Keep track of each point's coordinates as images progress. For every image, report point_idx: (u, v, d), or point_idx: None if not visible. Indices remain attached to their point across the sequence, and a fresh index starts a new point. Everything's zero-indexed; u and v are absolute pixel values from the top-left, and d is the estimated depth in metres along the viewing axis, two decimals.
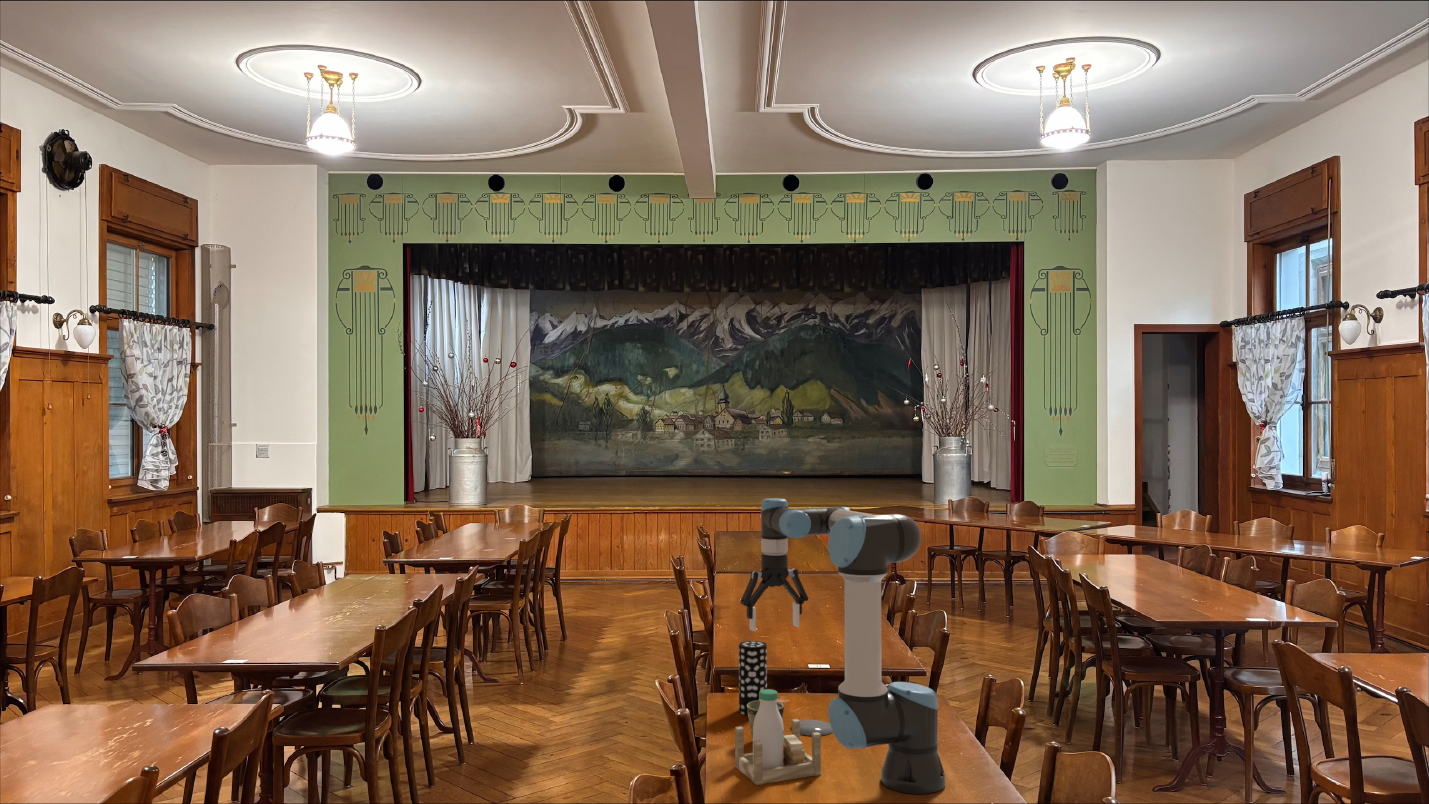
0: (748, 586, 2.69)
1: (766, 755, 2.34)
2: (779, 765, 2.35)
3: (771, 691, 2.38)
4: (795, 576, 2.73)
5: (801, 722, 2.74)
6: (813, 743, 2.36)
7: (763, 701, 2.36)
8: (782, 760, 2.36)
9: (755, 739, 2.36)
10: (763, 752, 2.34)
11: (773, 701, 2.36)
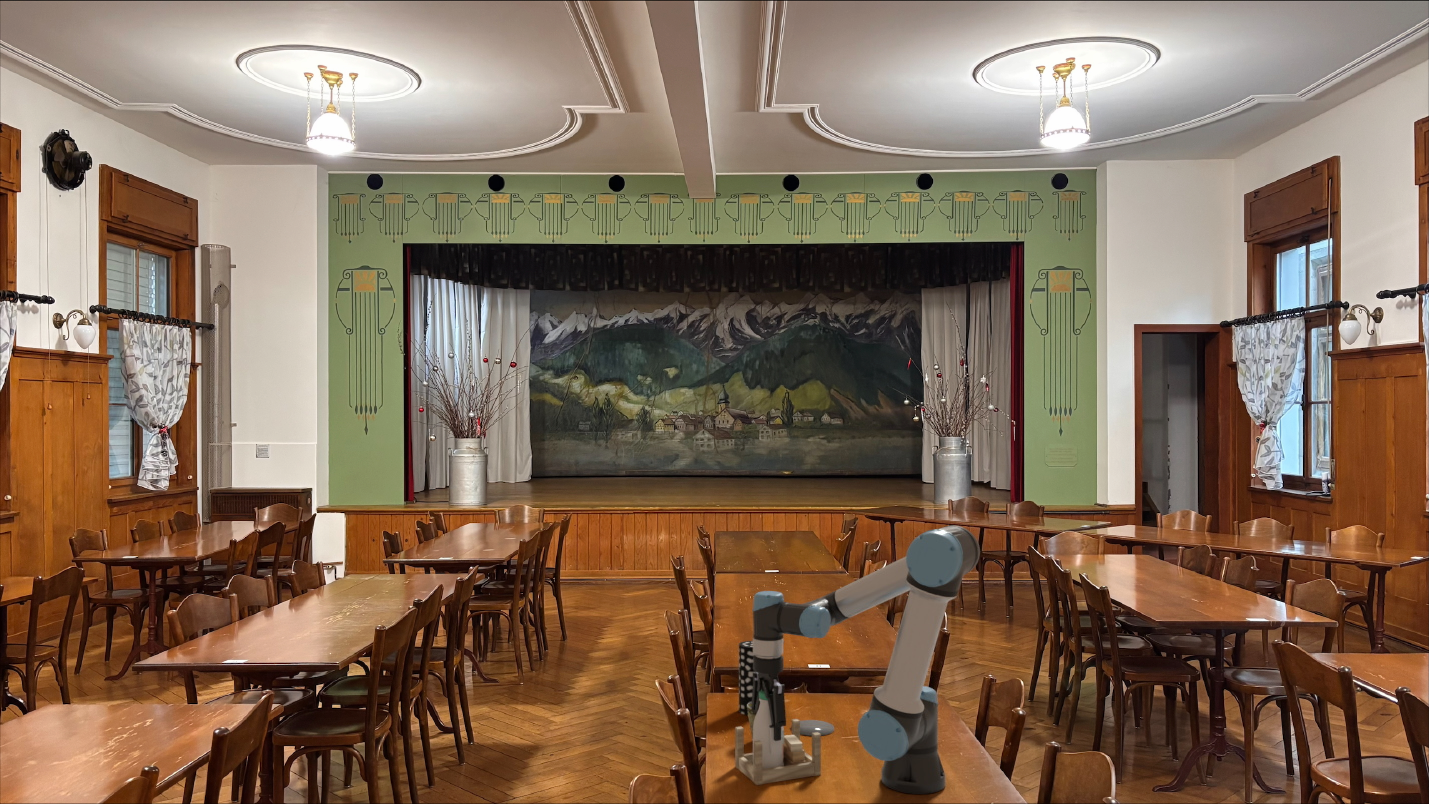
0: None
1: (766, 754, 2.34)
2: (779, 765, 2.35)
3: None
4: (773, 692, 2.32)
5: (801, 722, 2.74)
6: (813, 743, 2.36)
7: (763, 701, 2.36)
8: (782, 760, 2.36)
9: (755, 739, 2.36)
10: (763, 752, 2.34)
11: None
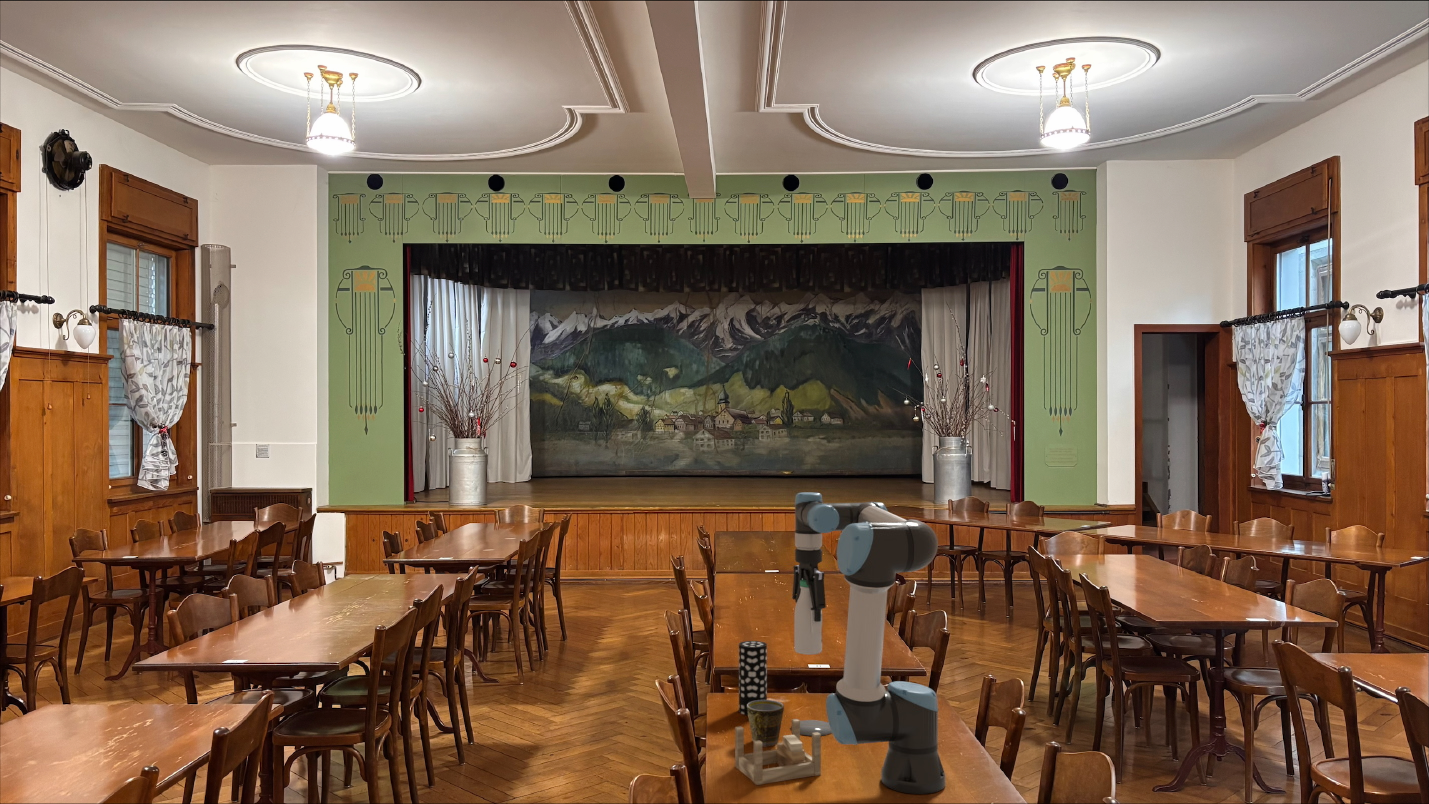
0: None
1: (807, 634, 2.64)
2: (818, 644, 2.65)
3: None
4: (814, 579, 2.63)
5: (801, 722, 2.74)
6: (813, 743, 2.36)
7: (803, 588, 2.66)
8: (821, 640, 2.66)
9: (797, 622, 2.66)
10: (804, 632, 2.64)
11: None
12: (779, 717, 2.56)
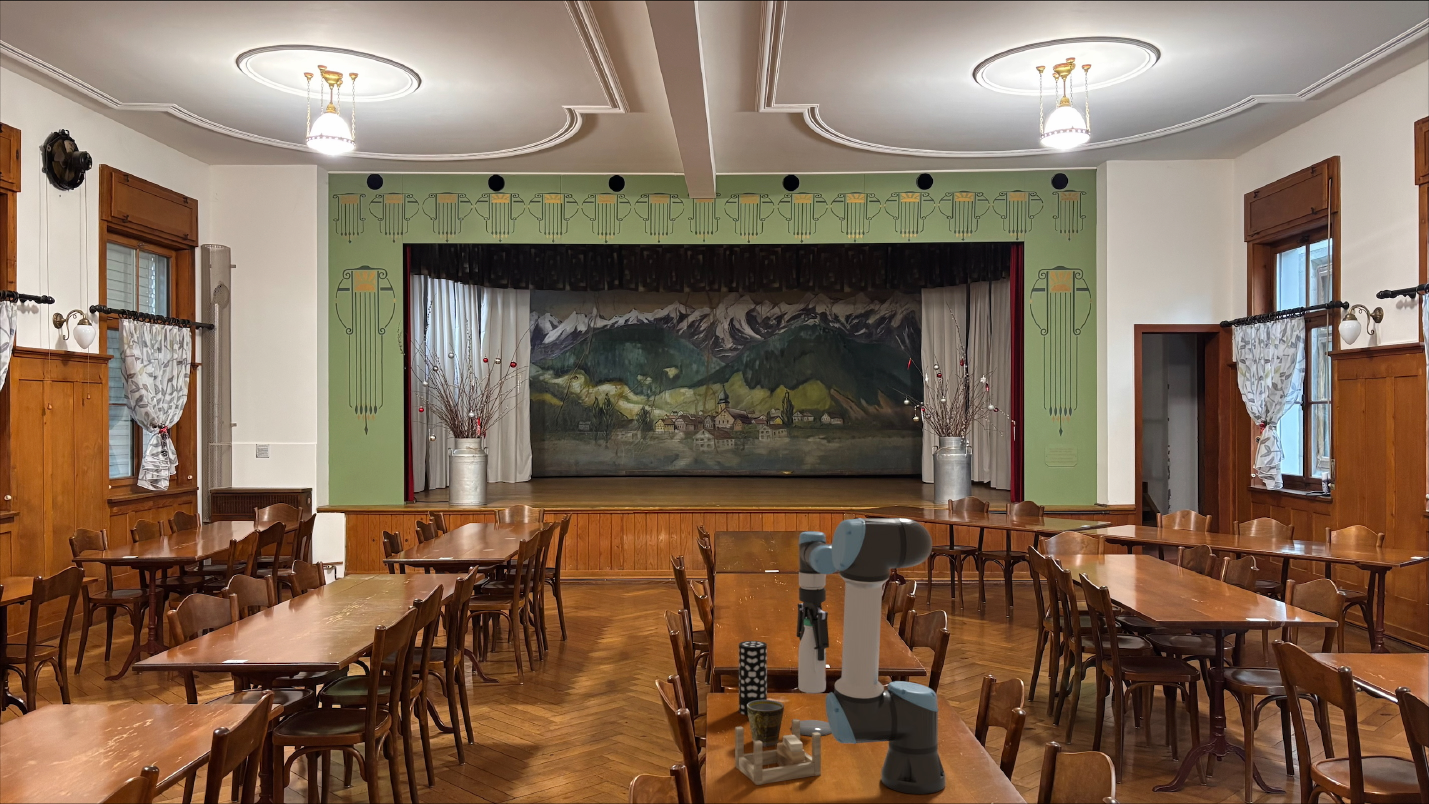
0: None
1: (811, 673, 2.67)
2: (822, 683, 2.68)
3: None
4: (818, 618, 2.65)
5: (801, 722, 2.74)
6: (813, 743, 2.36)
7: (807, 627, 2.69)
8: (824, 678, 2.69)
9: (801, 660, 2.69)
10: (808, 671, 2.67)
11: None
12: (779, 717, 2.56)
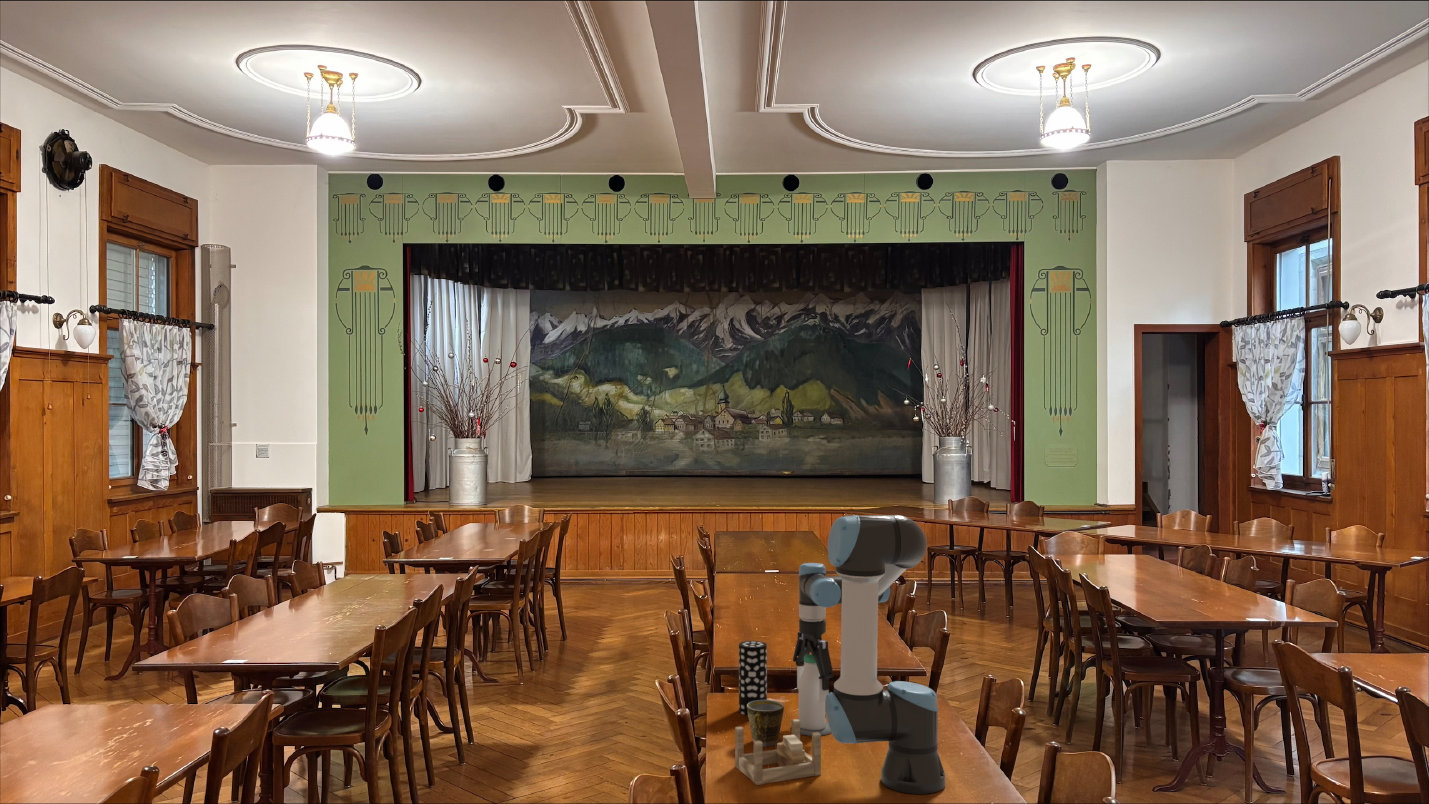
0: None
1: (811, 710, 2.67)
2: (822, 720, 2.67)
3: None
4: (819, 648, 2.64)
5: None
6: (813, 743, 2.36)
7: (807, 664, 2.69)
8: (824, 716, 2.68)
9: (801, 697, 2.68)
10: (808, 708, 2.67)
11: (816, 664, 2.69)
12: (779, 717, 2.56)
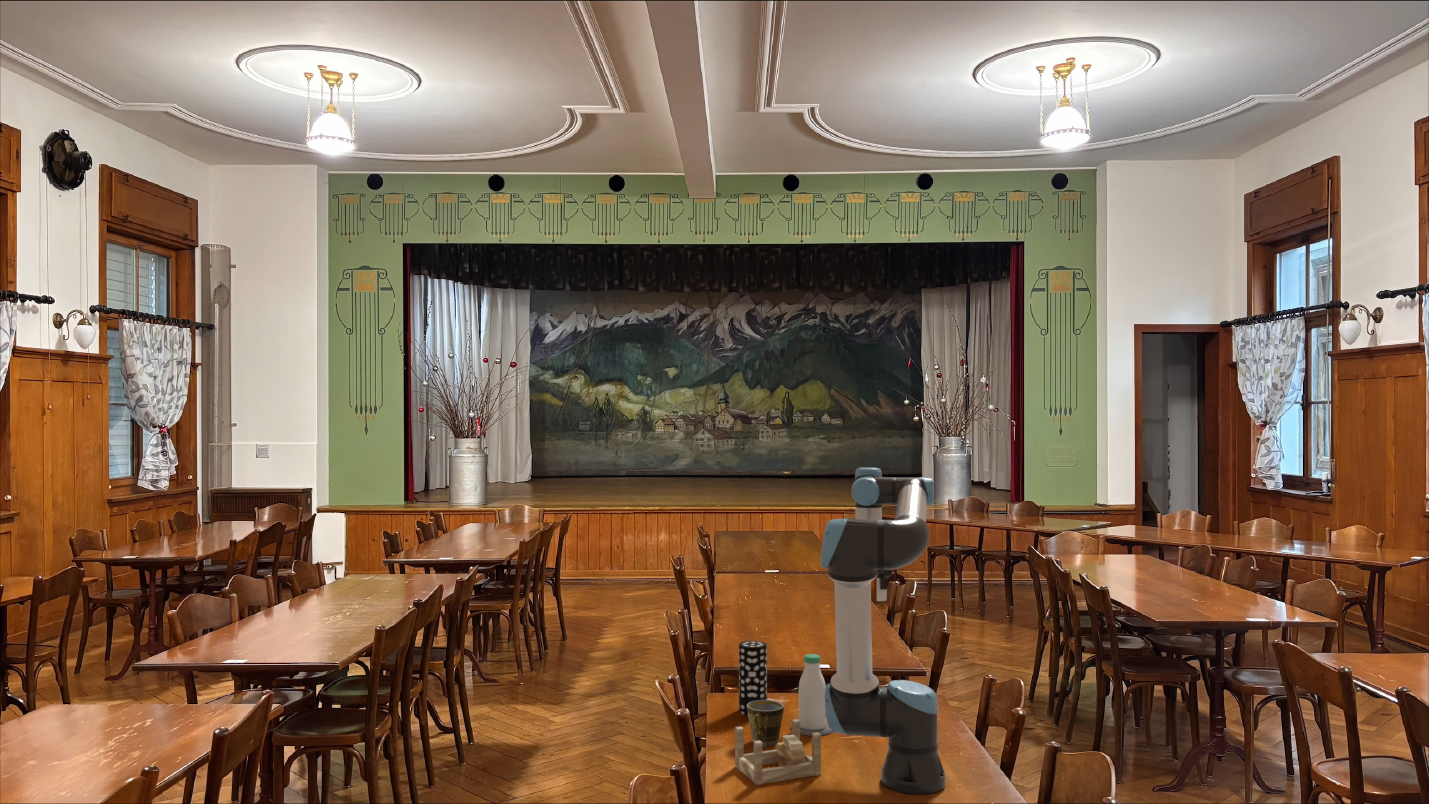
0: None
1: (811, 710, 2.67)
2: (822, 720, 2.67)
3: (814, 655, 2.70)
4: None
5: None
6: (813, 743, 2.36)
7: (807, 664, 2.69)
8: (824, 716, 2.68)
9: (801, 697, 2.68)
10: (808, 708, 2.67)
11: (816, 664, 2.68)
12: (779, 717, 2.56)
